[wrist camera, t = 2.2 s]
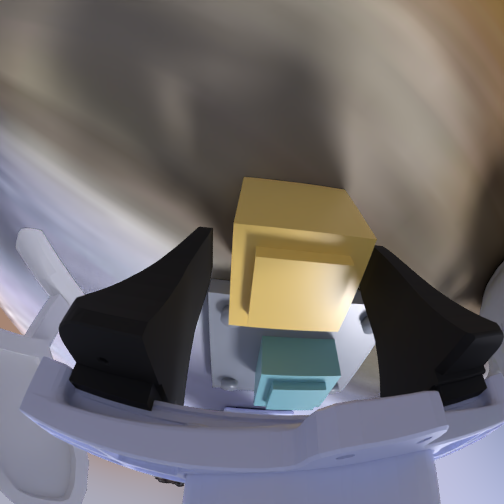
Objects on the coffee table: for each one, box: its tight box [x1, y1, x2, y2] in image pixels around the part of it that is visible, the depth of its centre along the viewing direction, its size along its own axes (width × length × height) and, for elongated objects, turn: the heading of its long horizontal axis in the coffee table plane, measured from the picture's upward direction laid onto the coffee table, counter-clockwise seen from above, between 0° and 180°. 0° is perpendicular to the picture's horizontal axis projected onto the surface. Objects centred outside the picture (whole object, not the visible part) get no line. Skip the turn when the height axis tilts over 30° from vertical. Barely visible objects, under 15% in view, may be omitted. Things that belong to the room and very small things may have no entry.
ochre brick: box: [229, 177, 377, 332], centre depth 12 cm, size 5×5×5 cm
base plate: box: [208, 279, 375, 410], centre depth 18 cm, size 12×12×5 cm
